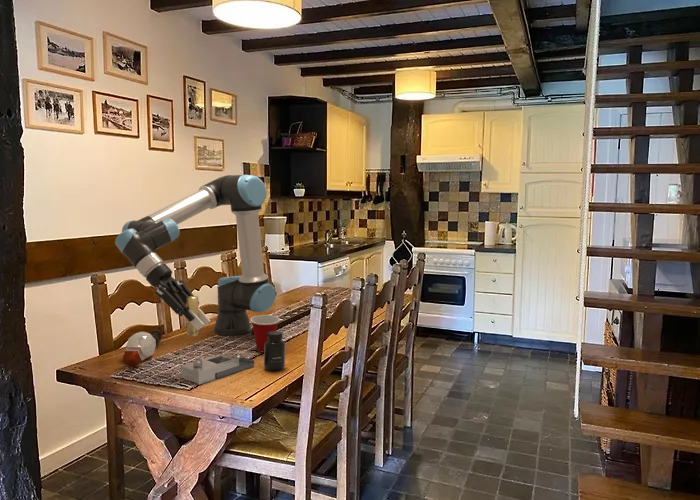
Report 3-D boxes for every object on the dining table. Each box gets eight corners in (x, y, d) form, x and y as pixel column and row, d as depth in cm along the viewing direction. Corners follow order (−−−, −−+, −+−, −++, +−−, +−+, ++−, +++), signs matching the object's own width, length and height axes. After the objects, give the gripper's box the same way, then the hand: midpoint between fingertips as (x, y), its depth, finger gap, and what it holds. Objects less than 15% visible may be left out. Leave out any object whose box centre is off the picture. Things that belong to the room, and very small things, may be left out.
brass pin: (194, 332, 162) (193, 295, 161) (201, 334, 160) (200, 297, 159) (184, 334, 159) (183, 297, 158) (191, 336, 157) (190, 298, 156)
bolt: (159, 342, 201) (153, 352, 187) (147, 336, 200) (140, 346, 186) (166, 329, 202) (161, 338, 187) (155, 323, 200) (148, 332, 186)
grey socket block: (221, 365, 169) (220, 349, 169) (239, 371, 164) (239, 354, 163) (180, 378, 157) (180, 360, 156) (198, 384, 152) (198, 367, 151)
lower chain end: (236, 360, 174) (236, 350, 174) (254, 366, 169) (254, 356, 169) (198, 372, 162) (198, 361, 162) (216, 379, 157) (216, 368, 156)
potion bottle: (150, 357, 181) (137, 377, 166) (125, 342, 178) (110, 361, 164) (164, 337, 179) (153, 355, 165) (140, 322, 177) (126, 339, 163)
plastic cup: (255, 356, 180) (255, 322, 179) (246, 347, 190) (246, 316, 188) (284, 352, 185) (284, 320, 184) (274, 344, 195) (274, 313, 193)
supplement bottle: (275, 373, 163) (275, 336, 162) (259, 369, 166) (259, 333, 165) (289, 367, 169) (289, 332, 167) (273, 363, 172) (273, 329, 171)
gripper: (162, 274, 169) (208, 326, 168) (131, 282, 153) (182, 340, 151) (176, 259, 167) (223, 311, 166) (147, 266, 151) (199, 324, 150)
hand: (204, 325), depth 159 cm, fingers closed on brass pin, 3 cm apart
